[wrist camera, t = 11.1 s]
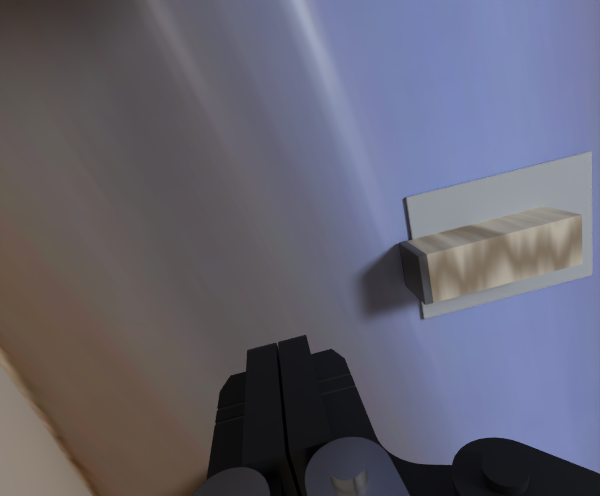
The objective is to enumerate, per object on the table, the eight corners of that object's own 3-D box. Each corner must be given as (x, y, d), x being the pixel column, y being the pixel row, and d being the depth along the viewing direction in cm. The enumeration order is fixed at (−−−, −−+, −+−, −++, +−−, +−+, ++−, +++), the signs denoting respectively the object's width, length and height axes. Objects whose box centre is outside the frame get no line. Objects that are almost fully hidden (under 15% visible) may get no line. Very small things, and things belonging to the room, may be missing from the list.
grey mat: (405, 197, 39) (406, 197, 38) (589, 151, 40) (591, 151, 39) (423, 317, 43) (424, 319, 42) (590, 274, 44) (592, 275, 43)
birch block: (418, 256, 35) (581, 214, 36) (399, 242, 40) (543, 206, 40) (425, 305, 36) (582, 263, 37) (406, 286, 41) (545, 250, 42)
